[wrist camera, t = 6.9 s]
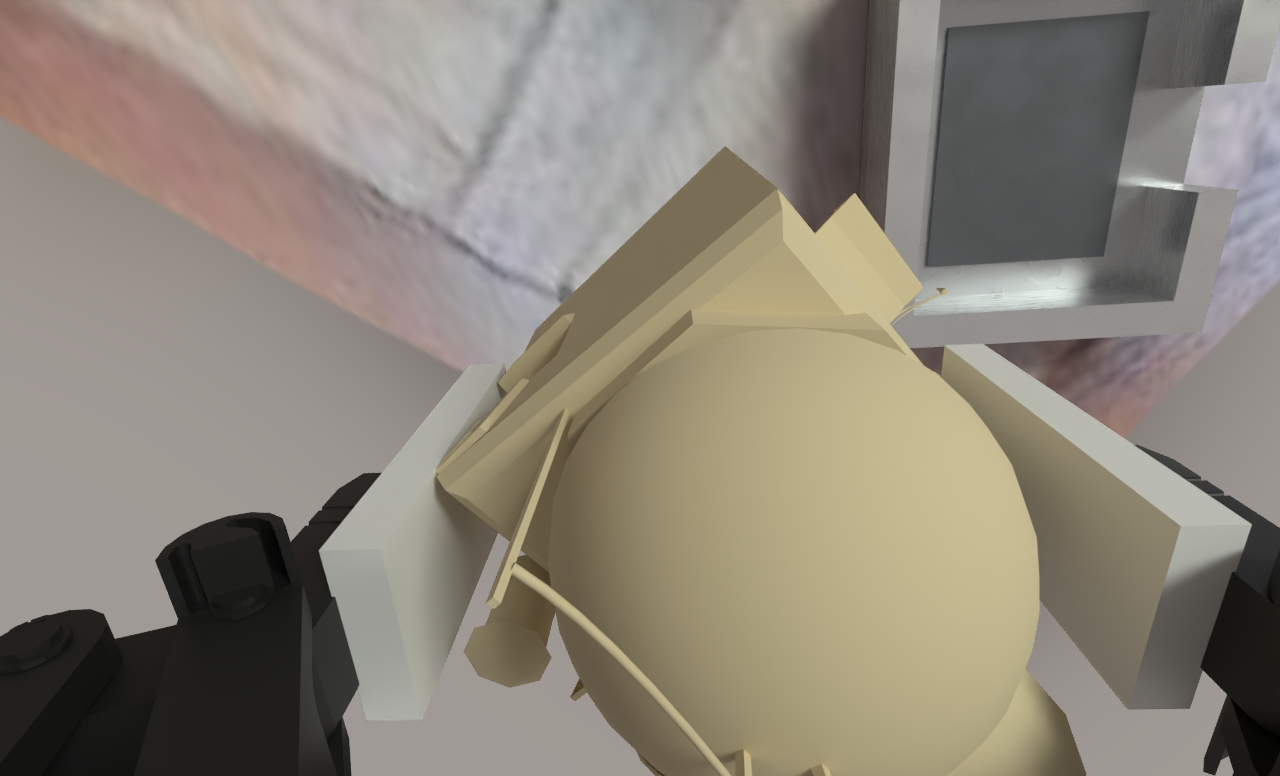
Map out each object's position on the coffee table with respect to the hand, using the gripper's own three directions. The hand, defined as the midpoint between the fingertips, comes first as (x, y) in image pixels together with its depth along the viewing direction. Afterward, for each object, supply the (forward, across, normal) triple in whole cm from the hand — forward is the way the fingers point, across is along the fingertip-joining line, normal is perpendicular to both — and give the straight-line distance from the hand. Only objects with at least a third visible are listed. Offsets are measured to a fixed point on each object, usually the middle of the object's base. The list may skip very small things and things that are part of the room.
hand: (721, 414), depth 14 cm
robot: (+3, 0, 0) cm, 3 cm away
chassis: (+19, +15, +4) cm, 25 cm away
